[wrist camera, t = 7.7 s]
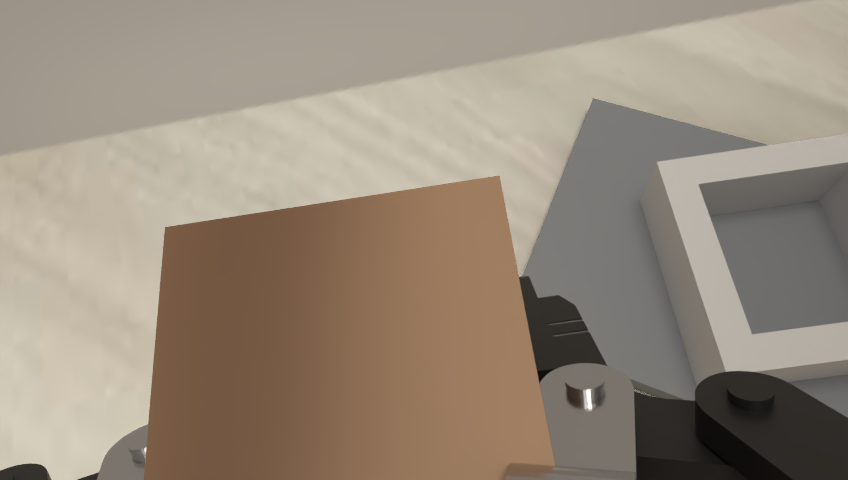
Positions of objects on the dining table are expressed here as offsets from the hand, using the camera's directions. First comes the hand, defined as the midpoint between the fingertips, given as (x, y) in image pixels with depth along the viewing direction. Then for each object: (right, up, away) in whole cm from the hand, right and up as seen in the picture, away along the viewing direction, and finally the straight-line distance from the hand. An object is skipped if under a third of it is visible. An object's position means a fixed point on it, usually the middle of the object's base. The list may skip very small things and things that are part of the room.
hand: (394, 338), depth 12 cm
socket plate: (+14, 0, +12) cm, 19 cm away
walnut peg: (+1, -3, +3) cm, 5 cm away
